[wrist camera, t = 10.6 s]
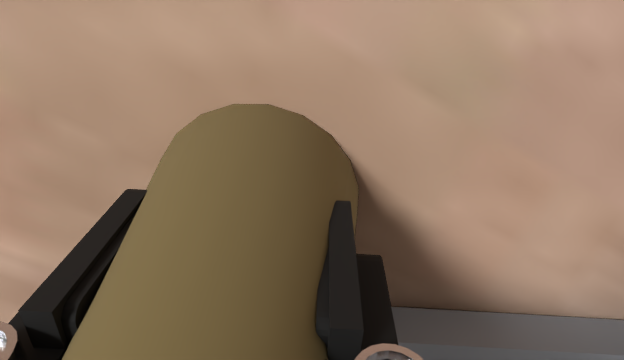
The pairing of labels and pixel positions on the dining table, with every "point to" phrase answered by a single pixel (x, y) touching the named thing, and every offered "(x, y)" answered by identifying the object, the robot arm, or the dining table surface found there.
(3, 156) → the dining table surface
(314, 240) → the cork
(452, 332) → the panel
